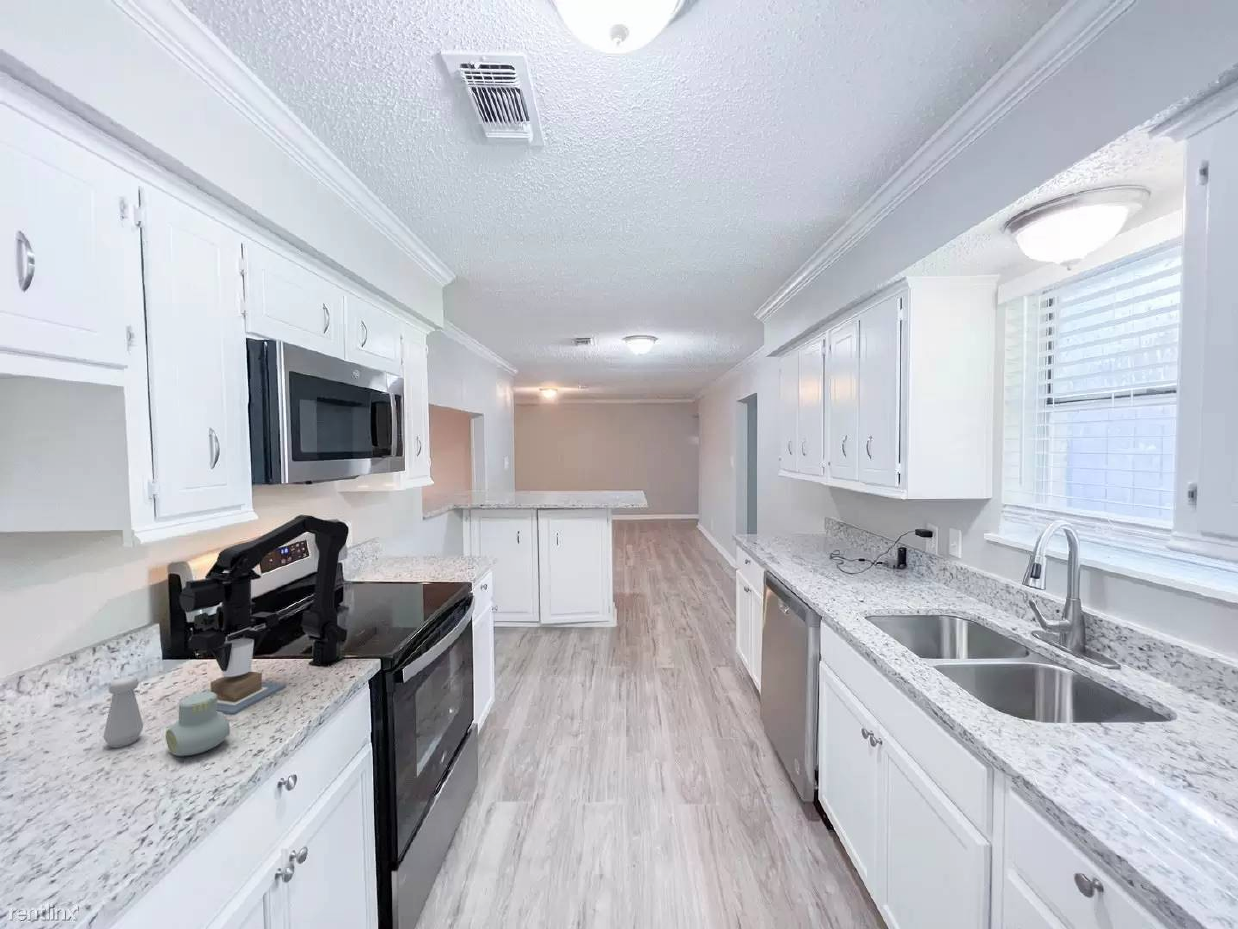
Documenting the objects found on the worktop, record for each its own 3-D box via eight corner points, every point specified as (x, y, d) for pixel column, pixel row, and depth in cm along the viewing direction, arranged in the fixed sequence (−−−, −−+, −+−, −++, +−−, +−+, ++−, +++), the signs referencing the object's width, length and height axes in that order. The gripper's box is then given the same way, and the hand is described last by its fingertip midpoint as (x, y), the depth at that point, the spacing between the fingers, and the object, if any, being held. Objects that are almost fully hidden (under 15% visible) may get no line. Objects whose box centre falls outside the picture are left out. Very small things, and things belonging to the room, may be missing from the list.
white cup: (214, 680, 120) (214, 650, 120) (223, 668, 126) (223, 639, 126) (250, 675, 123) (250, 646, 122) (257, 664, 129) (257, 636, 129)
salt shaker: (98, 745, 103) (98, 680, 103) (135, 731, 108) (135, 670, 108) (111, 753, 101) (110, 687, 100) (148, 739, 106) (148, 676, 105)
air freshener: (162, 747, 103) (162, 698, 103) (213, 730, 110) (213, 683, 110) (181, 767, 97) (181, 714, 97) (233, 747, 104) (233, 698, 103)
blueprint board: (239, 681, 133) (239, 678, 133) (285, 687, 130) (285, 684, 130) (183, 707, 119) (183, 704, 119) (233, 714, 116) (233, 711, 116)
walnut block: (261, 689, 127) (261, 673, 127) (235, 702, 120) (235, 685, 120) (238, 686, 128) (238, 670, 128) (210, 699, 122) (210, 682, 122)
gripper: (244, 588, 135) (244, 647, 135) (168, 609, 116) (168, 678, 117) (280, 591, 132) (280, 651, 133) (209, 613, 114) (209, 683, 114)
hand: (236, 665), depth 124 cm, fingers closed on white cup, 6 cm apart
